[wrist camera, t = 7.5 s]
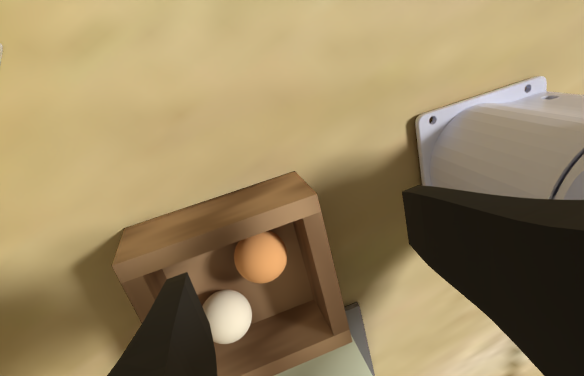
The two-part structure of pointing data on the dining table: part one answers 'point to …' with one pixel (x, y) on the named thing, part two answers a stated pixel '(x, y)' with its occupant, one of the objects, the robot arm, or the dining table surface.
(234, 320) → the ball
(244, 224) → the box
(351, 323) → the mat
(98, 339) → the dining table surface
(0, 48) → the supplement box
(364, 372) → the lid
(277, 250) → the ball
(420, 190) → the robot arm
